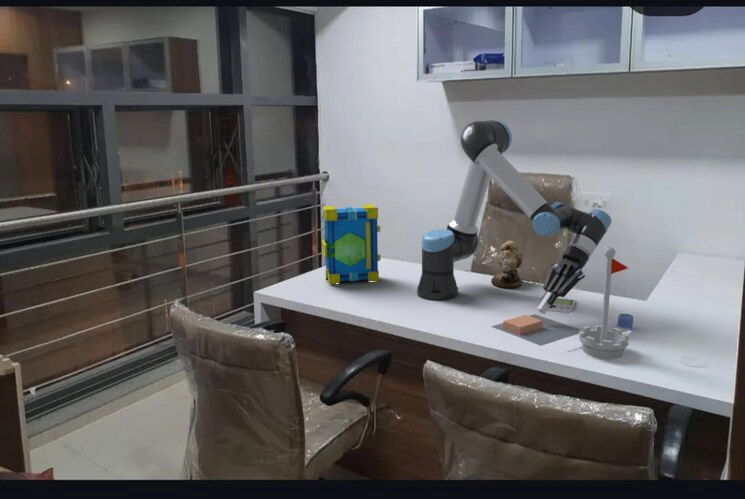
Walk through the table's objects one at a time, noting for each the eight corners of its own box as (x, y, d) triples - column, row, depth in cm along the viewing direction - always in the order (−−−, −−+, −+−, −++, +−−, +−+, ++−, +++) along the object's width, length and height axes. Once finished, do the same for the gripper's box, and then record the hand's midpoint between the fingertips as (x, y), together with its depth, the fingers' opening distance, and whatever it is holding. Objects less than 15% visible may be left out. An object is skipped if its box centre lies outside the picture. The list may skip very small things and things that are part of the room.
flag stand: (572, 354, 175) (578, 249, 168) (585, 339, 185) (592, 240, 179) (621, 363, 168) (630, 255, 161) (632, 348, 178) (640, 245, 172)
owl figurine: (489, 276, 255) (490, 235, 252) (518, 277, 254) (520, 236, 251) (493, 289, 238) (495, 245, 234) (525, 289, 237) (527, 245, 233)
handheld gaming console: (540, 308, 211) (546, 296, 225) (540, 312, 211) (546, 300, 225) (571, 311, 207) (575, 299, 221) (570, 316, 208) (575, 303, 221)
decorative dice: (630, 330, 192) (631, 318, 192) (616, 328, 194) (617, 316, 194) (632, 326, 196) (633, 314, 195) (619, 324, 198) (620, 312, 197)
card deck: (525, 322, 199) (502, 328, 194) (525, 314, 199) (503, 321, 193) (542, 328, 194) (519, 334, 188) (542, 320, 193) (520, 327, 188)
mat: (490, 328, 196) (490, 326, 196) (534, 315, 207) (534, 314, 207) (540, 347, 180) (540, 345, 180) (585, 333, 191) (585, 331, 191)
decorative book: (322, 277, 257) (320, 205, 251) (377, 274, 261) (376, 203, 255) (326, 287, 244) (323, 211, 237) (384, 283, 248) (383, 208, 241)
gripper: (600, 262, 198) (562, 323, 193) (567, 255, 209) (530, 312, 204) (590, 248, 194) (551, 310, 189) (557, 241, 205) (519, 299, 200)
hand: (540, 311), depth 197 cm, fingers closed
